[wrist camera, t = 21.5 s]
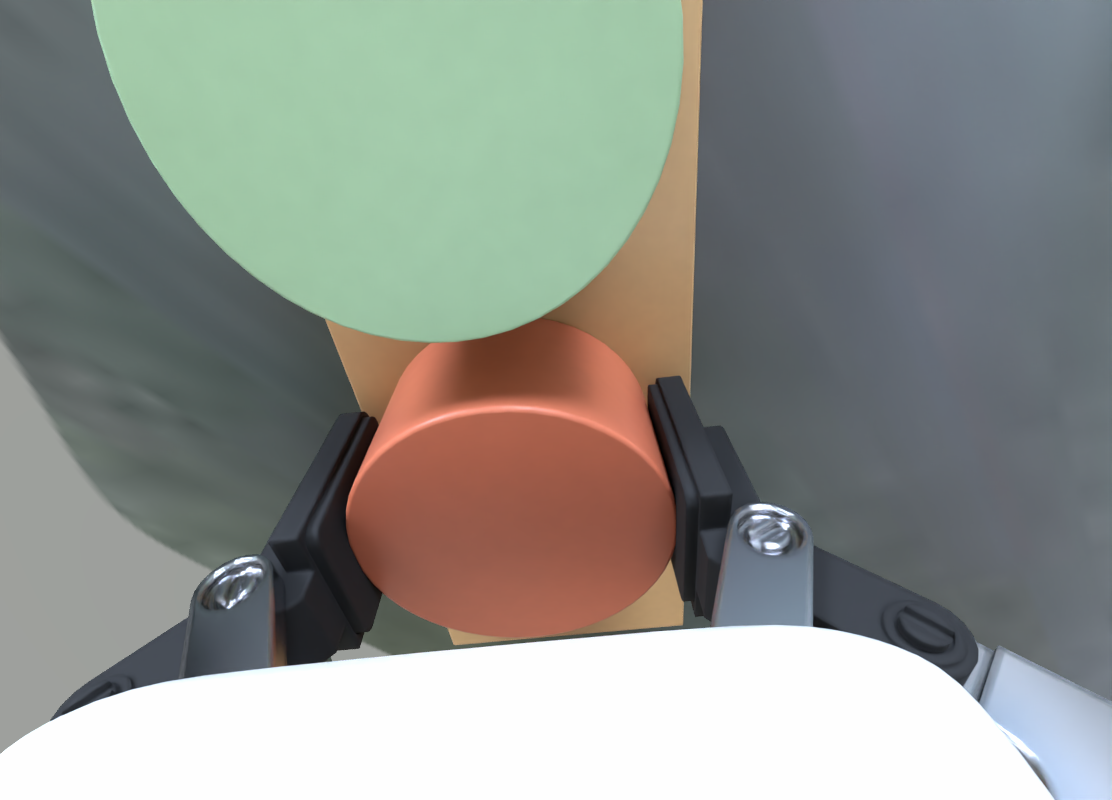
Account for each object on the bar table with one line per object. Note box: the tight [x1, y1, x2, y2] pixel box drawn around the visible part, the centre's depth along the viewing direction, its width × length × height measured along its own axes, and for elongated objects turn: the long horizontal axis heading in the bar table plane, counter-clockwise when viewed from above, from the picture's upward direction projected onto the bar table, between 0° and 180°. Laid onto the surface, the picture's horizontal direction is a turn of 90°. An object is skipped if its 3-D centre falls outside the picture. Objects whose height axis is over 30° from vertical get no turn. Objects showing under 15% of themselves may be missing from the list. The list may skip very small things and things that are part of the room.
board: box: [325, 0, 703, 645], centre depth 13 cm, size 8×20×2 cm, turn 7°
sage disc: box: [91, 0, 684, 343], centre depth 7 cm, size 6×6×4 cm
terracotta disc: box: [346, 318, 676, 638], centre depth 12 cm, size 6×6×4 cm
